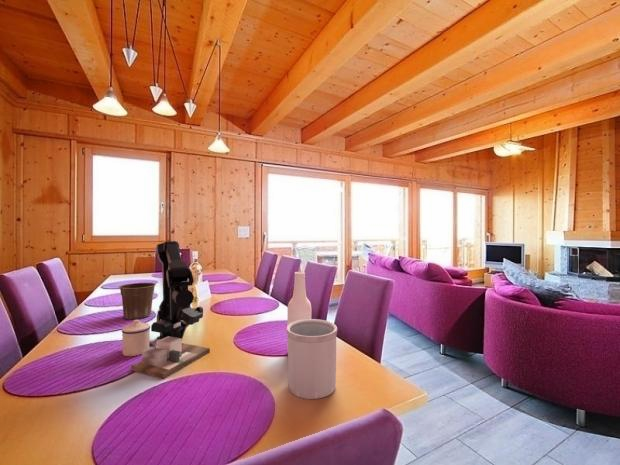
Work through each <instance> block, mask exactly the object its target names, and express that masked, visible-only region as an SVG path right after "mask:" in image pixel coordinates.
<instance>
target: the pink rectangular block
mask: <svg viewBox="0 0 620 465" xmlns="http://www.w3.org/2000/svg"><path fill="white" fill-rule="evenodd" d="M182 340H183V338H182V339H181V338H176V337H170V336H168V337H166V338H163V339H157V341H156V348H159V349H164V350H167V358H169V352H170V351H172V350H174V351H179V357H181V356H182V343H183V342H182Z"/></svg>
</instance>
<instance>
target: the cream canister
mask: <svg viewBox="0 0 620 465" xmlns="http://www.w3.org/2000/svg"><path fill="white" fill-rule="evenodd" d="M150 331H151V325H150V324H149V323H146V322H142V321H140V319H133V322H131V323H130V324H128V325H126V326H124V327H123V328H122V330H121V333H122V335H121V336H122V355H123V356H126V357H135V356H136V355H137V356H140V354H141V355H142V351H143V350H145V349H148V348H150V347H151V346H150V344H151V342H150V339H151V337H150V336H151V335H150Z"/></svg>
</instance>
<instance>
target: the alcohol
mask: <svg viewBox="0 0 620 465" xmlns="http://www.w3.org/2000/svg"><path fill="white" fill-rule="evenodd" d="M293 282H294V284H293V293H292V297H291V298H290V300H289V302H288V304H287V322H286V323H287V326H288V325H289V324H290V323H292V322H295V321H298V320H305V319H312V304H311V301H310V300H309V298H308V297H307V292H306V291H307V288H306V272H304V271H295V272H294V281H293ZM287 326H286V327H287ZM286 335H287V334H286ZM286 343H287V345H286V346H287V347H286V348H287V349H286V352H287V353H288V335H287V341H286Z"/></svg>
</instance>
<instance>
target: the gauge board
mask: <svg viewBox="0 0 620 465" xmlns="http://www.w3.org/2000/svg"><path fill="white" fill-rule="evenodd" d="M210 348H211V347H210ZM210 348H209V347H205V346H199V345H195V344H189V343H184V342H182V356H181V357H179V361H178V362H172V361H169V358H167V350H164V349H159V348H157V347H154V346H150V348H148V349H145V350H143V351H142V354H141V361H139V362H136V363H134V364H132V365H131V366H130V370H131V371H132V372H135V373H139V374H144V375H147V376H151V377H155V378H159V379H163V380H164V379H166V378H168V377H170V376H171V375H173V374H175V373H177V372H178V371H181V370H182V369H183V368H185V367H187V366H189V365H190V364H191V365H192V363H194V362H196V361H198V360H199V359H201V358H202V357H204V356H206V355H208V354H210V352H211V349H210Z"/></svg>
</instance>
